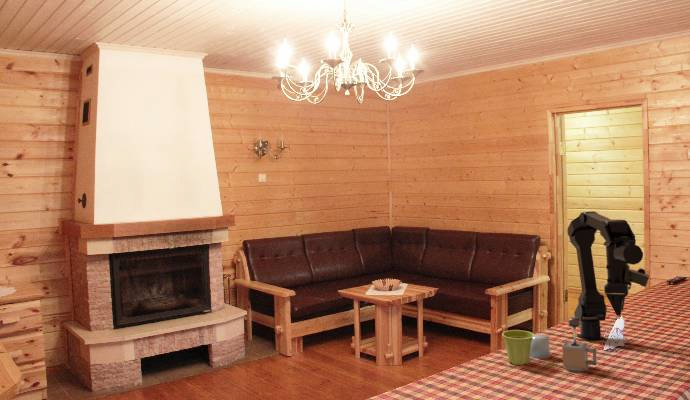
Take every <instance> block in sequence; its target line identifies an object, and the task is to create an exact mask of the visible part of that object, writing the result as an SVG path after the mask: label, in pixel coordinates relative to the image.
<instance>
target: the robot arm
mask: <svg viewBox="0 0 690 400" xmlns="http://www.w3.org/2000/svg"><path fill="white" fill-rule="evenodd" d="M566 231H567V236H568V237H569V241H570V243H571V245H573V247H574V248H575V250H576V255H577V263H578V271H579V278H580V279H579V280H580V285H581V286H580V287H581V293H580V294H579V297H578V298H577V303H578V304H577V306H576V308H575V310H574V312H573V313H574V317H576V318H580V326H579V327H580V333H579V334H577V333H576V337H578V338H580V339H583V340H586V341H596V340H603V339H605V336H602V330H601V321H602V322H603V321H604V322H605V321H606V316H607V309H608V308H607V305H606V301H605V296H606V297H607V299H608V302H609V303H610V305H611V307H612V309H613V311H614V313H615V314H616V316H617V317H621V316H622V311H624V307H625V300H626V297H627V296H628V295H629V290H631V288H632V285H633V284H632V283H634V284H638V285H639V286H641V287H643V288H644V287H647V284H648V282H649V279H650V275H649V274H647V273H646V269H644V268H641V267H640V268H638V269H637V270H635V269H630V265H638V264H640V263H641V262H642V260H643V258H644V253H643V252H644V251H643V250H642V248H641V247H640V246H638V245H637V244H636V242H637V240H636V235H635V234H634V231H633V229H632V227H631V226H630V224H629V223H628V221H627V220H626V219H620V218H619V219H616V218H615V219H611V218H609V217H606V216H605V215H602V214H600V213H598V212H597V211H582V212H580V213H579V215H578V216H577V217H576V218H574V219H573V220H571V221H570V222H569V225H568V227H567V230H566ZM597 231H600V232H599V235H600V236H601V237H602V238H603V239H604V242H603V246H605V252H606V265H605V266H606V270H607V271H606V273H607V279H606V282H607V283H606V284H605V285H604V287H603V288H604V290H603V291H604V294H605V296H604V295H603V294H601V292H599V290H598V287H597V280H596V273H595V265H594V259H593V251H592V246H593V244H594V243H595V240H596V233H597Z"/></svg>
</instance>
